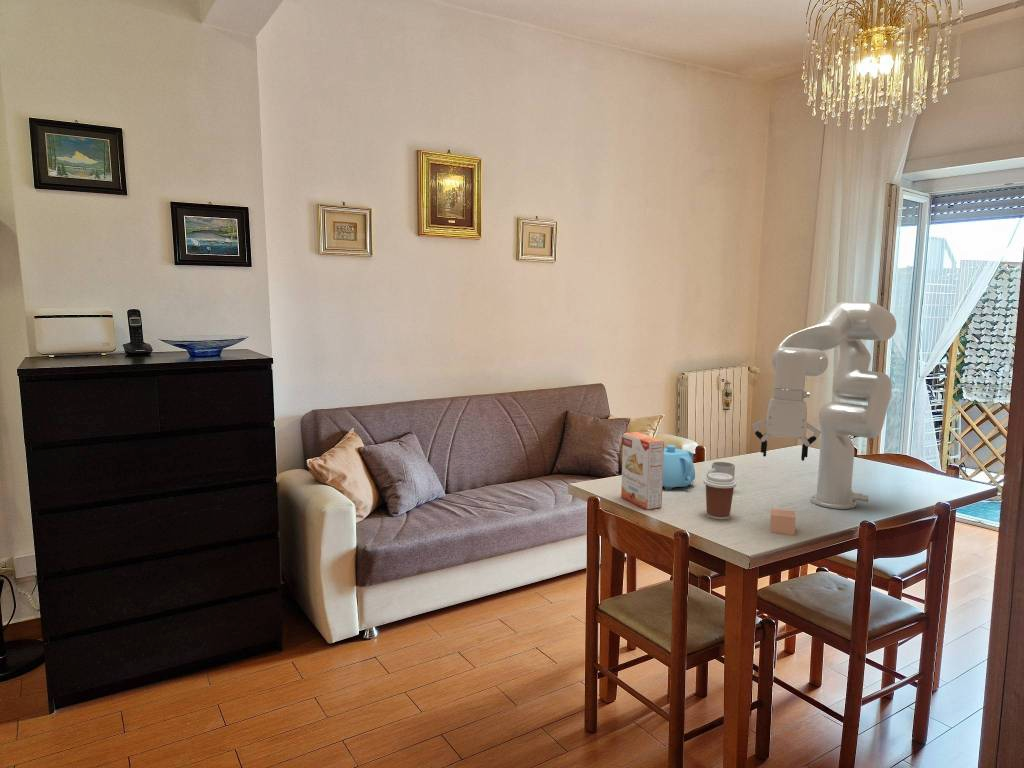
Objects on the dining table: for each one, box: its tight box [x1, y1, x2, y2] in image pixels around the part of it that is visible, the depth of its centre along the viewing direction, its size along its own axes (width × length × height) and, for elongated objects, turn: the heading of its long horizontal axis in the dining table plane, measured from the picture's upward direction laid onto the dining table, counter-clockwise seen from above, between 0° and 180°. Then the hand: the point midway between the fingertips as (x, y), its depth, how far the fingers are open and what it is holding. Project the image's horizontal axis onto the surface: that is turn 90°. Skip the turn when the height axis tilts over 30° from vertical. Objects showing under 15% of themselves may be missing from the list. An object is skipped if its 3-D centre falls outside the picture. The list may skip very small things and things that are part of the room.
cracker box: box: [620, 431, 665, 511], centre depth 202 cm, size 14×6×21 cm, turn 23°
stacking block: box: [769, 508, 797, 536], centre depth 181 cm, size 6×6×5 cm
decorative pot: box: [662, 444, 696, 490], centre depth 223 cm, size 16×16×14 cm
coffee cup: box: [703, 473, 738, 520], centre depth 191 cm, size 9×9×12 cm
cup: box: [705, 461, 736, 481], centre depth 216 cm, size 7×10×9 cm
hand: (783, 457), depth 180 cm, fingers open, 9 cm apart
